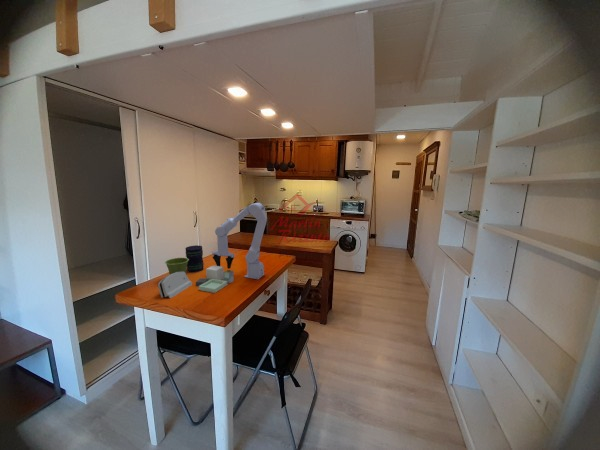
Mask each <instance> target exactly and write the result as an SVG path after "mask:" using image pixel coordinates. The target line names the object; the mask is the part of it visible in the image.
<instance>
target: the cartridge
mask: <svg viewBox="0 0 600 450" xmlns="http://www.w3.org/2000/svg"><path fill="white" fill-rule="evenodd" d="M223 271H224V272H223V279H222V281H227V284H231V283H233V282H234V281H235V280H234V275H235V274H234V270H231V269H227V270H223Z"/></svg>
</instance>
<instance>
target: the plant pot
mask: <svg viewBox="0 0 600 450" xmlns="http://www.w3.org/2000/svg"><path fill="white" fill-rule="evenodd" d="M188 260H189V259H188V258H187V257H174V258H169V259H167V260H166V261H165V262H164V264H165V265H166V267H167V269H168V273H169V275H170V274H173V273H176V272H185V273H186V274H187V263H188Z"/></svg>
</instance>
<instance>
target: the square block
mask: <svg viewBox="0 0 600 450" xmlns="http://www.w3.org/2000/svg"><path fill="white" fill-rule="evenodd" d="M207 281H209V279H207V278H206V277H204V278H203V277H202V278H199V279H198V280H196V281H195V286H196V287H199V286H200V285H202V284H204V283H205V282H207Z"/></svg>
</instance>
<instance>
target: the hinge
mask: <svg viewBox="0 0 600 450" xmlns="http://www.w3.org/2000/svg"><path fill="white" fill-rule="evenodd" d="M188 277H189V276H188V275H187V272H186V273H185V272H176V273H173V274H169V275H167V276H165V277H163V278H162V279H161V280H160V281H159V282H158V284H157V286H158V291H159V293H160V298H162V299H163V298H166V297H168V298H169V299H172V298H173V297H175V296H177V295H179V294H180V293H181V292H183V291H185V290H186V289H188V288H189V287H191V286H193V282H192V281H191V280H190V279H189V278H188Z"/></svg>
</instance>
